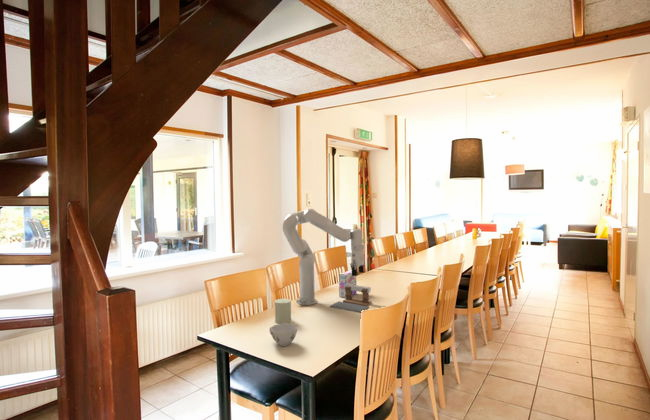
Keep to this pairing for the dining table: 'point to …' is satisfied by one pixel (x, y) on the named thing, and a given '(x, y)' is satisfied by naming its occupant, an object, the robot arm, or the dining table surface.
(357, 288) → the steel rail
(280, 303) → the can
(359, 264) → the robot arm
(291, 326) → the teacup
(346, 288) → the cradle rack
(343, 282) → the candy box
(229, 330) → the dining table surface
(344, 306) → the rubber mat
